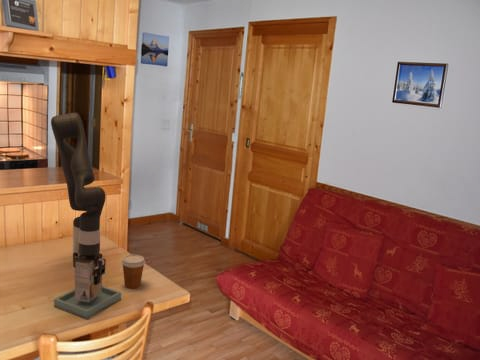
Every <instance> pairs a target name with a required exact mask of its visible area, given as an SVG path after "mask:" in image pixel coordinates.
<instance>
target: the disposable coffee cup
mask: <svg viewBox="0 0 480 360" xmlns="http://www.w3.org/2000/svg"><path fill="white" fill-rule="evenodd" d="M145 263H146V260H145V257H144V256H142V255H139V254H128V255H125V256H124V257H122V260H121V264H122V272H123V281H124V287H125V288H126V289H132V290H134V289H138V288H140V286H141V282H142V278H143V277H142V276H143V271H144V266H145Z"/></svg>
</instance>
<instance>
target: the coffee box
mask: <svg viewBox="0 0 480 360" xmlns="http://www.w3.org/2000/svg"><path fill="white" fill-rule="evenodd" d="M98 256H99V259H102V260H103V253H100V252H99V254H98ZM97 266H98V262H96V263H94V260H93V259H90V258H88V257H84V256H80V257H79V258H77V259H76V260H75V268H74V289H75V300H79V301H84V302H91V301H92V300H93V299H94V298H95V297H97V296H98V295H99V294H100V293H101V292H102V286H103V275H101V276H100V283H99V284H98V285H94V270H93V269H94V268H95V267H97ZM96 272H97V269H96Z"/></svg>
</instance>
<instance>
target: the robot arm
mask: <svg viewBox="0 0 480 360" xmlns="http://www.w3.org/2000/svg"><path fill="white" fill-rule="evenodd" d="M50 126H51V130H52V133H53V137H54V139H55V143H56V146H57V149H58V153H59V157H60V162H61V168H62V172H63V175H64V178H65V182H66V189H67V195H68V200H69V202H68V203H69V207H70V208H71V210H72V211H76V212H77V211H78V212H83V213H81V214H80V216H77V217H74V219H73V221H72V224H73V225H72V226H73V227H72V229H73V230H72V266H73V268H74V269H75V260H76V259H77V258H79V257H80V256H84V257H88V258H90V259H93V260H94V263H96V262H98V266H97V267H95V268H94V269H93V270H94V285H98V284H99V283H100V276H101V275H102V276H103V275H104V274H105V275H106V264H107V263H106V262H107V261H106V258H102V259H99V256H98V254H99V253H100V252H101V230H100V228H101V217H102V216H101V215H102V213H103V208H104V205H105V203H106V198H107V197H106V192H105V190H104V188H102V187H100V186H94V187H92V186H91V187H85V186H89V185H91V184H93V182H94V181H95V174H94V171H93V167H92V164H91V161H90V156H89V149H88V143H87V138H86V133H85V132H86V131H85V128H84V124H83V119H82V118H81V116H80V114H79V113H78V112H70V113H65V114H59V115H58V114H57V115H55V116H52V117H51V119H50ZM72 138H73V139H74V138H77V139H76V140H77V142H76V145H75V148H74V147H72V146H71V145H70V144H69V143H68V141H66V139H72ZM96 269H97V272H96Z"/></svg>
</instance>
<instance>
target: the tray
mask: <svg viewBox="0 0 480 360" xmlns="http://www.w3.org/2000/svg"><path fill="white" fill-rule="evenodd" d="M121 300H122V292H121V291H118V290H116V289H112V288H109V287H107V286H104V285H102V292H101V293H100V294H99V295H98V296H97V297H95V298H94V299H93V300H92V301H91V302H84V301H79V300H75V288H74V289H72V290H70V291H68V292H65V293H64V294H62V295H60V296H58V297H56V298H53V307H54V308H56V309H58V310H61V311H64V312H67V313H70V314H72V315H75V316H77V317H80V318H83V319H84V318H85V319H84V320H89V319H91V318H92V317H94V316H96V315H97V314H99V313H101V312H102V311H104V310H106V309H107V308H109V307H110V306H112V305H114V304H115V303H117V302H119V301H121Z"/></svg>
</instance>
